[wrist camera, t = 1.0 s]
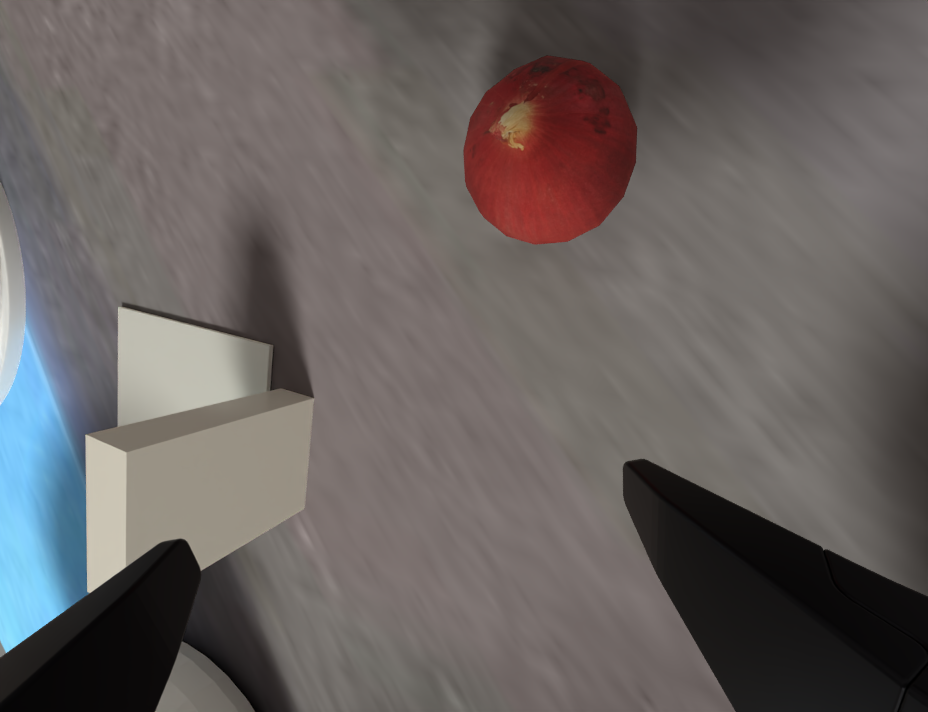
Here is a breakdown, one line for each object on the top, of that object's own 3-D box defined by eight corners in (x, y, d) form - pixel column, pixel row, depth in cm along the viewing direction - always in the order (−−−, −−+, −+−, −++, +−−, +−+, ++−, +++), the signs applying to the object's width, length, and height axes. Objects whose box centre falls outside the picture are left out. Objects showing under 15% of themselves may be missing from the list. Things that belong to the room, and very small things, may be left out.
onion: (525, 99, 19) (447, -25, 12) (662, 123, 17) (670, -7, 10) (485, 234, 20) (393, 197, 13) (608, 269, 19) (581, 249, 11)
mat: (273, 345, 26) (269, 345, 26) (260, 528, 28) (256, 530, 28) (122, 306, 31) (118, 306, 31) (122, 464, 33) (117, 466, 33)
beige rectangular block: (314, 398, 26) (126, 452, 16) (304, 508, 27) (125, 616, 18) (278, 387, 27) (82, 433, 17) (271, 494, 28) (84, 590, 19)
